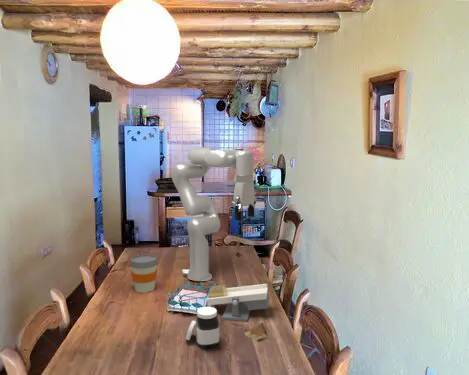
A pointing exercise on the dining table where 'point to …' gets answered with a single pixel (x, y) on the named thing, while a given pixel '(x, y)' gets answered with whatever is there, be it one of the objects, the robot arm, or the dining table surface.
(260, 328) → the shard
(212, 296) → the block
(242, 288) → the beam
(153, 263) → the reusable coffee cup
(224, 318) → the balance stand
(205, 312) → the spread jar
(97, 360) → the dining table surface
